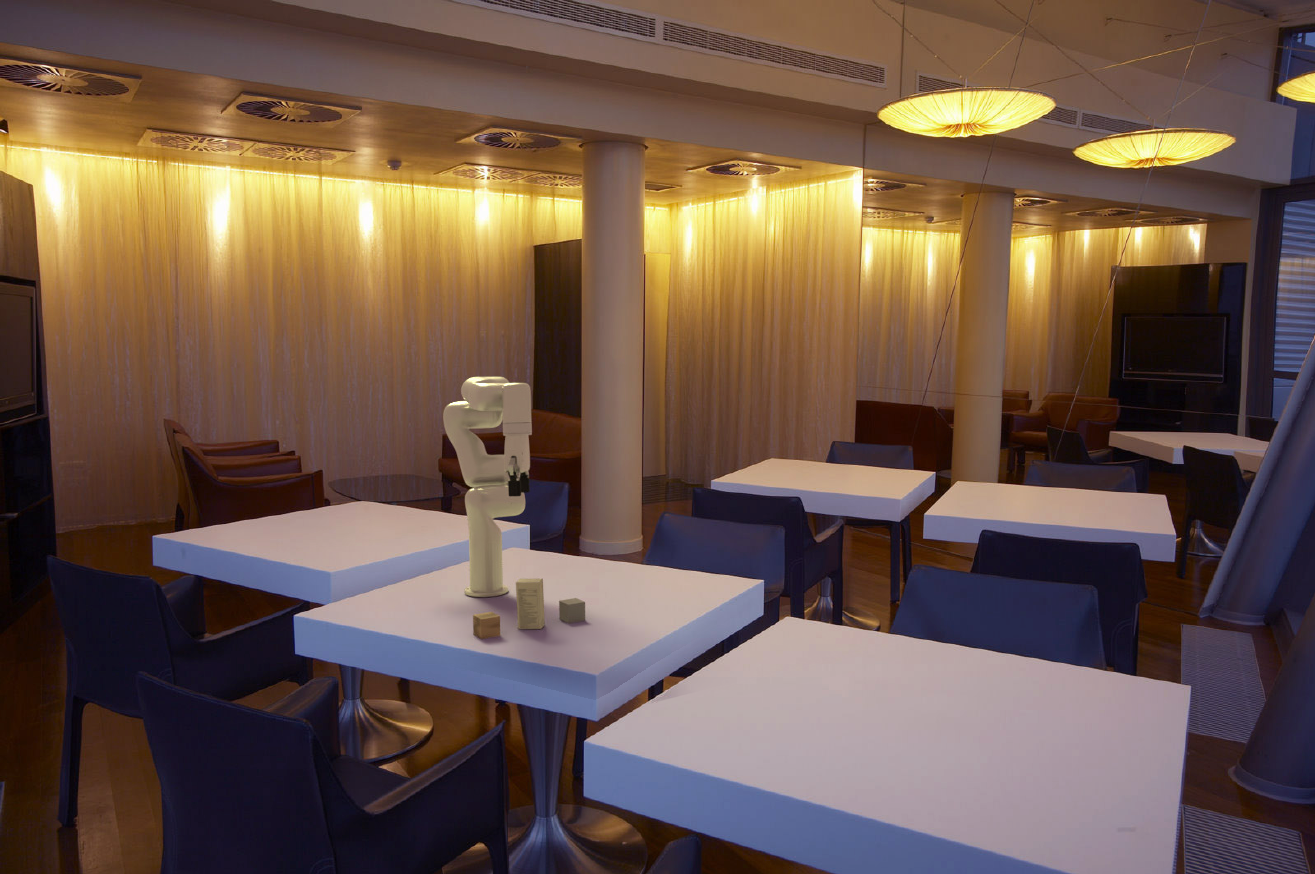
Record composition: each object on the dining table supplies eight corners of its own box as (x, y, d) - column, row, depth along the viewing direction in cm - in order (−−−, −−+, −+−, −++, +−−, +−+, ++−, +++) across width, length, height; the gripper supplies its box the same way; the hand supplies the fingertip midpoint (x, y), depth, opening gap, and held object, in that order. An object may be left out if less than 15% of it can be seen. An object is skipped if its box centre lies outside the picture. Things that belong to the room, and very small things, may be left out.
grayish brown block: (559, 619, 237) (559, 600, 236) (576, 616, 240) (575, 597, 239) (568, 623, 233) (568, 604, 232) (585, 620, 235) (585, 601, 235)
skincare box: (545, 624, 231) (544, 578, 230) (541, 629, 227) (540, 582, 226) (520, 624, 232) (519, 577, 231) (516, 629, 228) (515, 581, 227)
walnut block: (473, 634, 223) (473, 614, 223) (492, 631, 226) (491, 611, 226) (481, 639, 219) (480, 619, 219) (500, 635, 222) (500, 616, 222)
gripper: (511, 429, 246) (513, 491, 247) (494, 431, 229) (497, 498, 230) (538, 428, 246) (540, 490, 246) (523, 430, 229) (525, 497, 229)
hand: (519, 494), depth 238 cm, fingers open, 9 cm apart
